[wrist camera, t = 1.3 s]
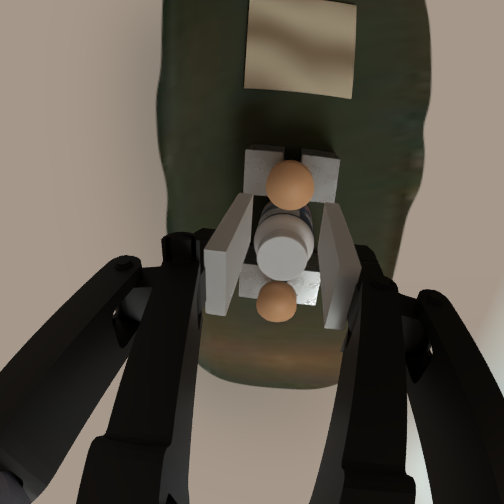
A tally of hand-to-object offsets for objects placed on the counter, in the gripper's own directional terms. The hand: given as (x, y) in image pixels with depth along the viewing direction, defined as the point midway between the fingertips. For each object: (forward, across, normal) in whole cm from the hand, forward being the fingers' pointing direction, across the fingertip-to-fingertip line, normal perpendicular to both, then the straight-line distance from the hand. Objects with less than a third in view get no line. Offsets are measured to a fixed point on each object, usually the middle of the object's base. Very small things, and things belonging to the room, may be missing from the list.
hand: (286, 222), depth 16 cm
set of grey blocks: (+15, 0, -6) cm, 16 cm away
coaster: (+15, 0, +12) cm, 19 cm away
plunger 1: (+12, 0, 0) cm, 12 cm away
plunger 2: (+12, 0, -11) cm, 16 cm away
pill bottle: (+15, 0, -6) cm, 16 cm away
